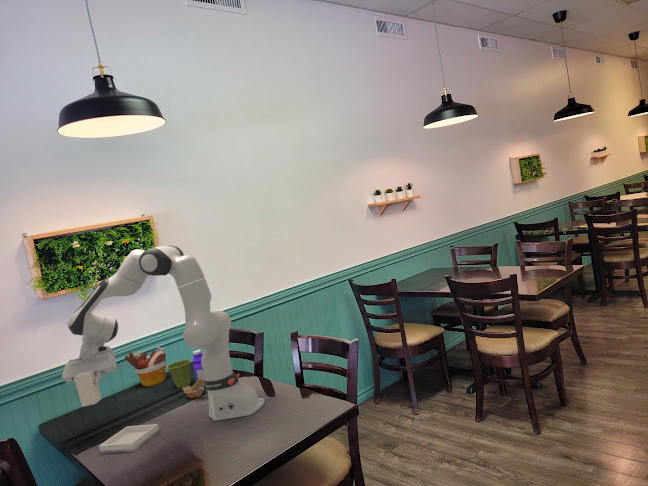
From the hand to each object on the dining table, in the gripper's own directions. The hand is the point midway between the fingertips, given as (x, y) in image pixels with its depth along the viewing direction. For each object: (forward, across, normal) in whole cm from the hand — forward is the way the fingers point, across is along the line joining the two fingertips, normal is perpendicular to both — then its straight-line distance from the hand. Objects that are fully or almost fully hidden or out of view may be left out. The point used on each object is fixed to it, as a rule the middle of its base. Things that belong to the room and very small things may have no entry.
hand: (87, 386), depth 190 cm
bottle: (-13, +34, +45) cm, 58 cm away
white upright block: (+4, 0, +5) cm, 7 cm away
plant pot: (-20, +21, +52) cm, 59 cm away
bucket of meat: (-32, +1, +64) cm, 71 cm away
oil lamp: (-5, +31, +37) cm, 48 cm away
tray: (+22, +15, +9) cm, 29 cm away
